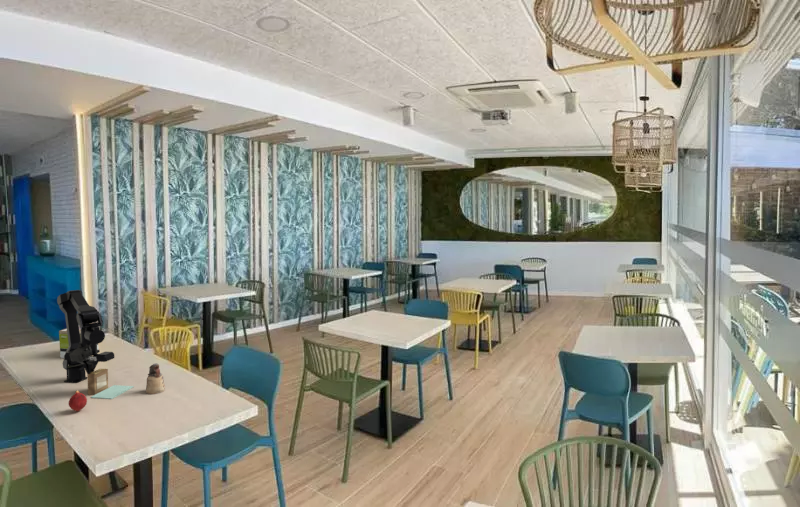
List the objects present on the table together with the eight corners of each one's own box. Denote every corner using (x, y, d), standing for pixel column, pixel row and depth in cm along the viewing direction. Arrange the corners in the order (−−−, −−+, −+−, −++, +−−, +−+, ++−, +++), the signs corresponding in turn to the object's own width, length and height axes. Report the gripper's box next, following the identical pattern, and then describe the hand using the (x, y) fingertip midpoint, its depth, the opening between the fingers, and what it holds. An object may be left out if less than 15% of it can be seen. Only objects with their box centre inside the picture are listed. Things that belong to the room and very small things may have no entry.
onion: (90, 409, 187) (90, 389, 186) (76, 415, 182) (75, 394, 181) (79, 407, 189) (79, 387, 188) (65, 413, 183) (64, 392, 183)
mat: (90, 397, 199) (90, 396, 199) (113, 385, 212) (113, 385, 212) (111, 399, 198) (111, 398, 198) (133, 387, 212) (133, 386, 212)
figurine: (161, 387, 213) (161, 360, 212) (167, 391, 208) (166, 363, 207) (143, 390, 208) (143, 363, 207) (149, 395, 203) (148, 367, 202)
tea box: (82, 350, 265) (81, 323, 264) (99, 351, 263) (98, 324, 262) (59, 358, 250) (58, 329, 249) (76, 359, 249) (76, 331, 247)
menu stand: (88, 394, 202) (87, 373, 201) (101, 388, 210) (101, 367, 209) (95, 395, 202) (94, 374, 201) (108, 388, 210) (107, 368, 209)
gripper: (52, 343, 197) (54, 381, 198) (95, 345, 195) (97, 383, 197) (73, 336, 208) (75, 372, 209) (114, 338, 206) (115, 374, 208)
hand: (90, 375), depth 205 cm, fingers closed
